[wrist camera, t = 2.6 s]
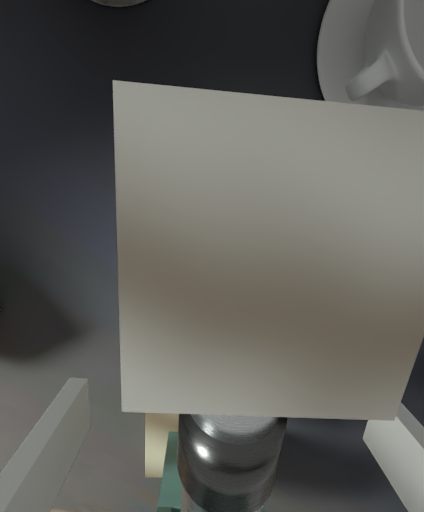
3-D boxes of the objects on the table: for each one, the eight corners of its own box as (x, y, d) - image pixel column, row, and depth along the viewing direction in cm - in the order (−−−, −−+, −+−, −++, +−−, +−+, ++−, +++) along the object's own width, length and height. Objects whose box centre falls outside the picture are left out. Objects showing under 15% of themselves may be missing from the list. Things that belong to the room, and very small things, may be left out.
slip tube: (195, 150, 9) (188, 122, 5) (304, 159, 9) (380, 139, 5) (177, 484, 14) (166, 606, 10) (250, 486, 14) (269, 605, 10)
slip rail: (150, 156, 15) (-9, 68, 4) (313, 170, 15) (598, 127, 4) (147, 464, 21) (88, 755, 10) (261, 466, 22) (318, 747, 11)
